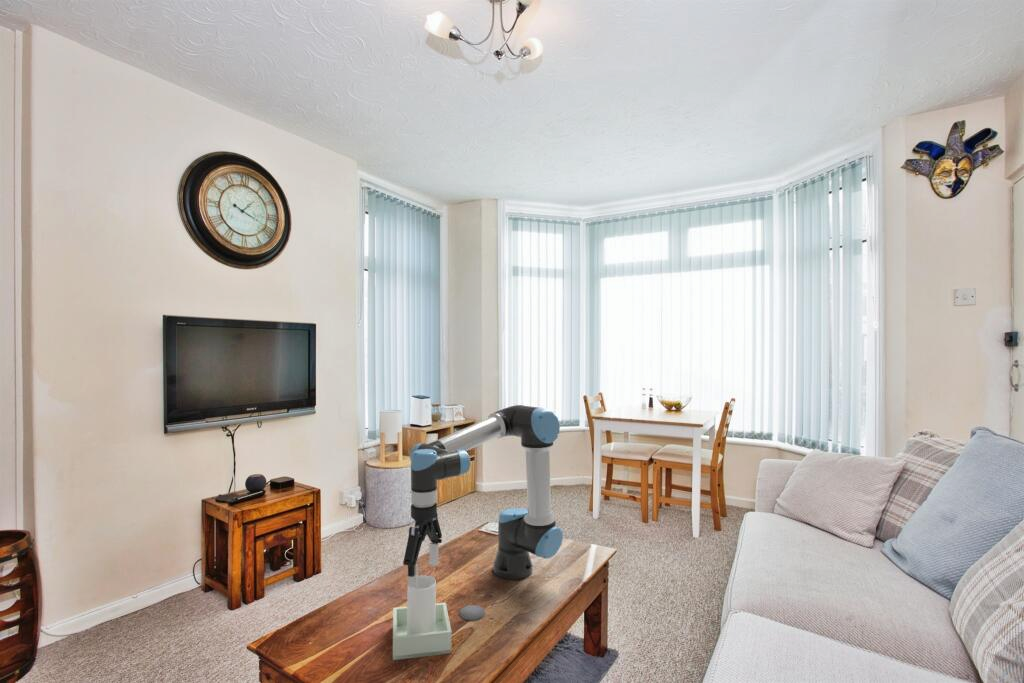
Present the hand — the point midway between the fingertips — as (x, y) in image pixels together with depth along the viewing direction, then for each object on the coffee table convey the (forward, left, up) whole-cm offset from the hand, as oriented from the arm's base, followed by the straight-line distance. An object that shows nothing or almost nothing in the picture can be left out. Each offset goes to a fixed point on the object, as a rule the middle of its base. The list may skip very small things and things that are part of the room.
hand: (423, 575), depth 146 cm
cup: (0, 0, -18) cm, 18 cm away
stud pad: (-17, -11, -19) cm, 27 cm away
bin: (0, 0, -19) cm, 19 cm away
